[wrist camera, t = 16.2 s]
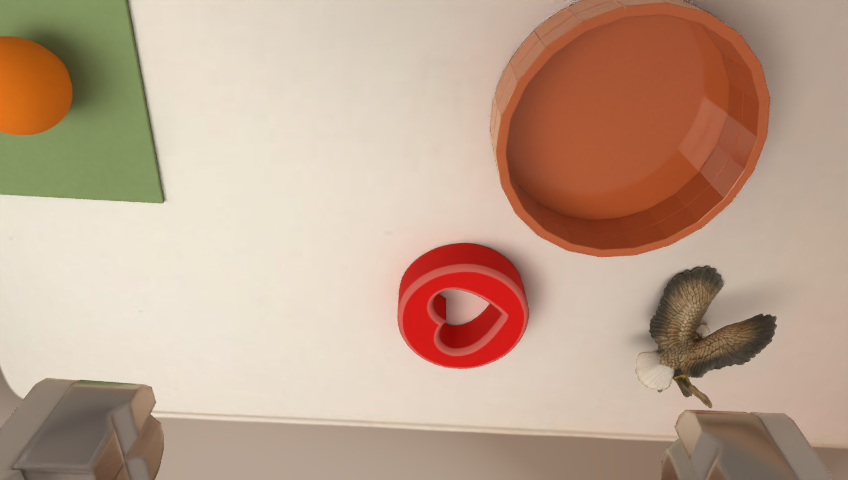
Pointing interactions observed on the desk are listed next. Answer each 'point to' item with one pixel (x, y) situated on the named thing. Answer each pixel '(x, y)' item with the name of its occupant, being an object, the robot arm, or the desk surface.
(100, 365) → the desk surface
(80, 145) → the felt mat
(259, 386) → the desk surface
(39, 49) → the orange
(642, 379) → the eagle figurine
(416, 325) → the decorative ornament
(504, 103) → the pot
